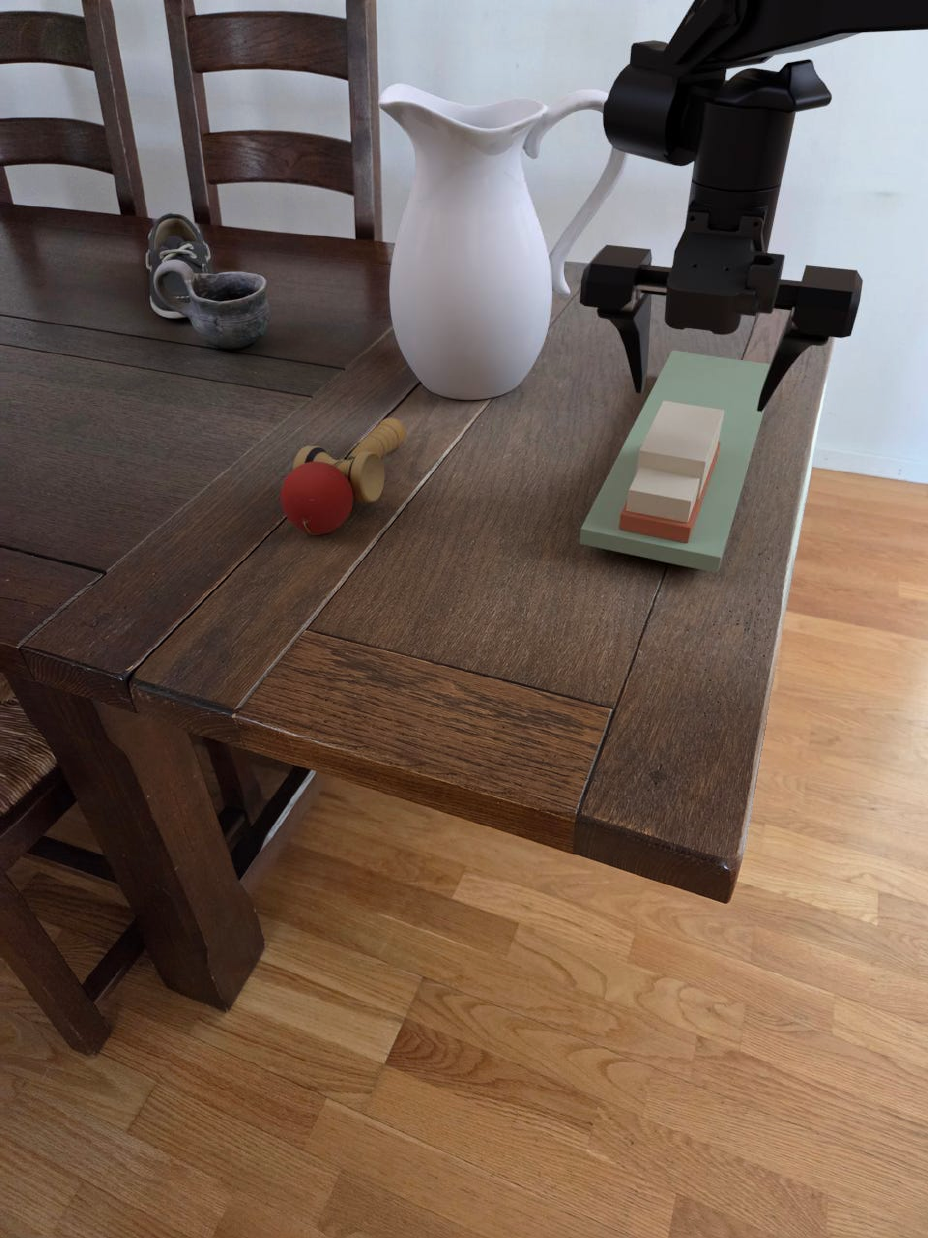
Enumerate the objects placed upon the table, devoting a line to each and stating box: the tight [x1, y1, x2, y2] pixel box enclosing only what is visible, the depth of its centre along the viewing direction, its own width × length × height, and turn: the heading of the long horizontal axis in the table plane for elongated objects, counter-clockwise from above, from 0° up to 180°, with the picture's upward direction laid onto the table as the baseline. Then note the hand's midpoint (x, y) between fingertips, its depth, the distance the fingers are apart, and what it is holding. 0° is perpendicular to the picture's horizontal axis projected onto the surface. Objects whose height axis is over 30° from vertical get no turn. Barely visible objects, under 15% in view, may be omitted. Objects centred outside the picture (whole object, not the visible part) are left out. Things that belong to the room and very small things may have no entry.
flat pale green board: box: [578, 350, 771, 574], centre depth 80 cm, size 36×11×3 cm, turn 158°
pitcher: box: [377, 83, 630, 401], centre depth 87 cm, size 24×17×28 cm
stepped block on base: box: [619, 401, 724, 543], centre depth 70 cm, size 14×6×5 cm, turn 158°
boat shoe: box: [145, 212, 212, 319], centre depth 115 cm, size 25×9×8 cm, turn 13°
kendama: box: [280, 417, 407, 536], centre depth 77 cm, size 8×6×18 cm
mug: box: [154, 260, 271, 350], centre depth 100 cm, size 10×12×10 cm
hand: (698, 400), depth 66 cm, fingers open, 9 cm apart
